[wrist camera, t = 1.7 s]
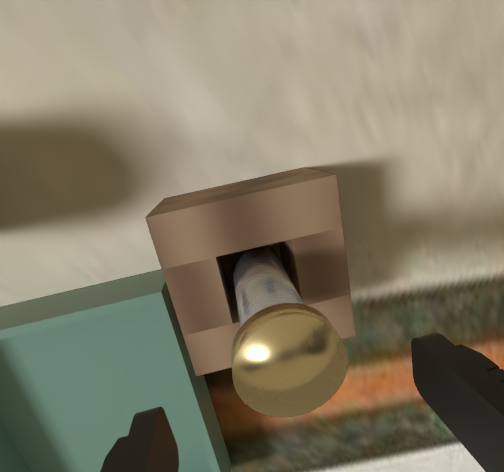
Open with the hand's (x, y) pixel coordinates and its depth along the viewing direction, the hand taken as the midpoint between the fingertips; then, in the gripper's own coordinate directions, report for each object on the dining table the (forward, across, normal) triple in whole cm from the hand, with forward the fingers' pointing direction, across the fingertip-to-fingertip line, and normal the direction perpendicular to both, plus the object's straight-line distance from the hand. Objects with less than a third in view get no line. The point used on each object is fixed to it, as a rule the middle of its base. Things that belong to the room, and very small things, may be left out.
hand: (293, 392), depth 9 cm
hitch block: (+14, 0, 0) cm, 14 cm away
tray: (+14, +14, +10) cm, 22 cm away
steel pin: (+13, 0, 0) cm, 13 cm away
